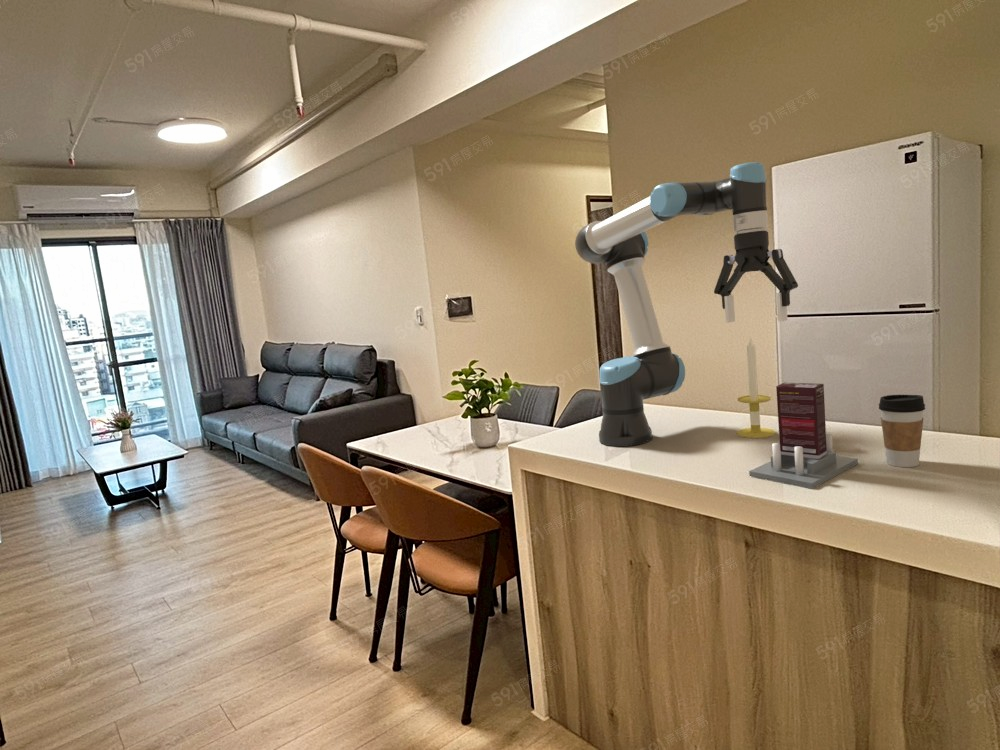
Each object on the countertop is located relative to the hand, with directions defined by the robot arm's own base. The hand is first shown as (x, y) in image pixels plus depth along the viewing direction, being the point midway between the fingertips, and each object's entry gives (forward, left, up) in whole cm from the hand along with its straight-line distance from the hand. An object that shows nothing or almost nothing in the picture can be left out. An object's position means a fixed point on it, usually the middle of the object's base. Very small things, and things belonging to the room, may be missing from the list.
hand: (755, 321), depth 147 cm
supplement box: (+14, -7, -29) cm, 33 cm away
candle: (-11, +15, -33) cm, 38 cm away
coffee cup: (+28, +8, -33) cm, 44 cm away
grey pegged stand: (+14, -7, -33) cm, 36 cm away
